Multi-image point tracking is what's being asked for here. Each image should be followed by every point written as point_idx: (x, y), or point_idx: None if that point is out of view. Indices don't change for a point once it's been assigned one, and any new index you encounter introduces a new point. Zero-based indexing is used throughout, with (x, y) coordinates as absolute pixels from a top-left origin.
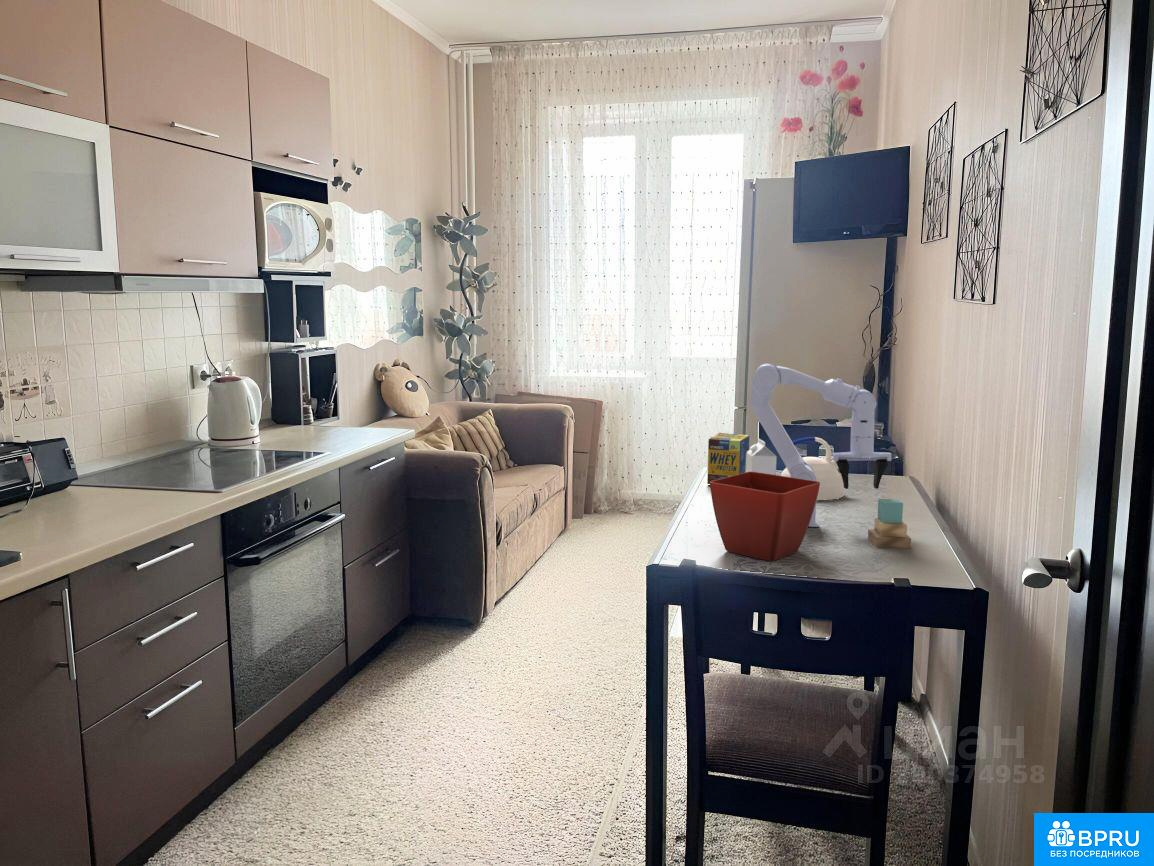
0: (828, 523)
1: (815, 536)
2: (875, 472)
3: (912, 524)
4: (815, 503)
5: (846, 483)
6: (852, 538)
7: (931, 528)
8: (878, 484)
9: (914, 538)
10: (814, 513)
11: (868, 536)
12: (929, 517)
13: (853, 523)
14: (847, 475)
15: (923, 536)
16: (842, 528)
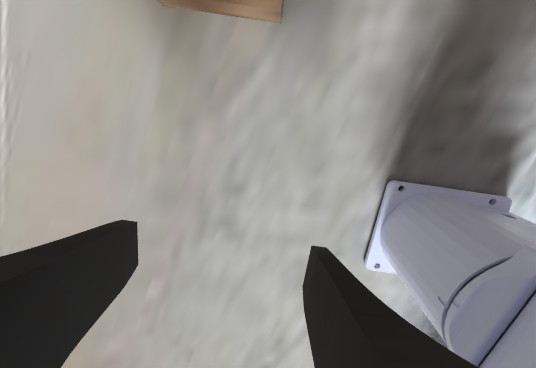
0: (331, 229)
1: (464, 60)
2: (48, 338)
3: (75, 201)
4: (433, 245)
5: (335, 262)
6: (338, 23)
7: (27, 151)
8: (102, 227)
9: (112, 15)
10: (415, 221)
11: (282, 10)
12: None
13: (252, 224)
14: (352, 302)
15: (74, 44)
16: (313, 167)
